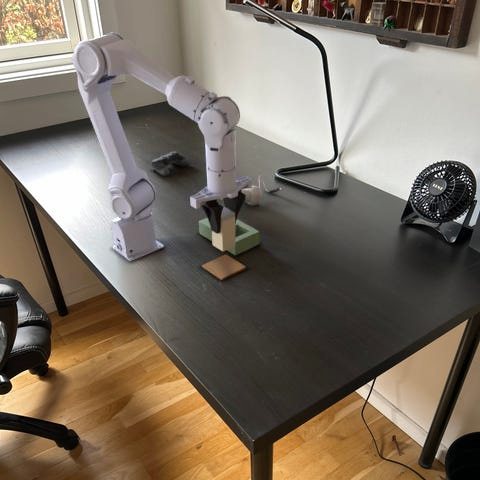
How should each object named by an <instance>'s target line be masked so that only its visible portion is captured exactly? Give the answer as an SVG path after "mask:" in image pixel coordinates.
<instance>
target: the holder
mask: <svg viewBox="0 0 480 480" xmlns="http://www.w3.org/2000/svg"><path fill="white" fill-rule="evenodd" d="M198 230H199V232H198V233H199V234H200V235H201V236H202V237H204V238H206V239H207V240H209V241H211V242H212V230H211V226H210V223H209V220H208V218H207V217H205V218H203V219H201V220H198ZM259 244H260V231H259V230H257V229H256V228H254V227H252V226H250V225H248V224H246V223H245V222H243V221H241V220H239V219H237V220H236V224H235V246H234V247H232V248H230V249H227V250H226V251H227V252H229V253H230V254H232V255H233V256H237V255H239V254H241V253H243V252H246V251H248V250H250V249H252V248H254V247H257V246H259Z"/></svg>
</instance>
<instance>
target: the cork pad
mask: <svg viewBox="0 0 480 480" xmlns="http://www.w3.org/2000/svg"><path fill="white" fill-rule="evenodd" d="M201 267H202V268H203V269H204V270H205V271H207V272H209V273H210V274H212V276H215V278H217V279H219V280H221V281H224V280H226V279H228V278H230V277H232V276H234V275H236V274H237V273H240V272H242V271H244V270H246V269H247V266H245V265H244V264H243V263H240V262H239V261H237V260H236V259H234V258H233V257H231V256H229V255H228V254H227V253H226V254H223V255H221V256H219V257H216V258H215V259H213V260H210V261H208V262H206V263H204V264H202V265H201Z"/></svg>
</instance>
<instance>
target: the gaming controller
mask: <svg viewBox="0 0 480 480" xmlns="http://www.w3.org/2000/svg"><path fill="white" fill-rule="evenodd" d="M175 163H176V164H178V165H180V166H183V167H187V166H190V164H191V159H190V158H188V157H187V156H186V155H184V154H182V153H181V152H178V151H170V152H169V153H166V154H164V155H161V156H159V157H158V158H155V159H152V160H151V161H150V163H149V164H150V168H151V170H152V171H156V172H158V173H159V175H161V176H164V177H165V176H169V175H170V170H169V168H168V166H170V165H172V164H175Z"/></svg>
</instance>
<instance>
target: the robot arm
mask: <svg viewBox="0 0 480 480" xmlns="http://www.w3.org/2000/svg"><path fill="white" fill-rule="evenodd" d="M70 59H71V62H72V64H73V67H74V69H75V72H76V75H77V86H78V91H79V94H80V96H81V98H82V101H83V104H84V106H85V109H86V111H87V114H88V117H89V119H90V122H91V124H92V127H93V130H94V132H95V134H96V137H97V140H98V142H99V145H100V147H101V150H102V152H103V155H104V158H105V161H106V163H107V164H108V168H109V170H110V173H111V179H110V182H109V184H108V188H107V191H108V194H109V198H110V207H111V209H112V212H113V213H114V214H115V215H116V216H117V217H115V218H114V219H112V220H111V221H110V223H109V224H110V225H109V226H110V232H111V233H110V234H111V237H112V242H113V246H112V248H113V250H114V251H116V252H117V253H119V254H120V255H121V256H123V257H124V258H125V259H126V260H127V261H129V262H132V261H135V260H138V259H139V258H142V257H144V256H147V255H149V254H151V253H154V252H156V251H159V250H160V249H164V247H165V245H164V244H163V243H162V242H160V241H158V240H157V238H156V231H155V223H154V215H153V208H154V207H153V203H154V202H155V200H156V199H157V190H156V187H155V186H154V184H153V183H152V182H151V180H150V179H149V177H148V175H147V172H146V171H145V170H143V169H141V168H139V167H137V165H136V161H135V159H134V156H133V153H132V150H131V148H130V145H129V142H128V139H127V136H126V133H125V131H124V128H123V125H122V123H121V119H120V118H119V114H118V112H117V109H116V106H115V103H114V100H113V97H112V95H111V89H112V87H113V85H114V82H115V80H116V78H117V77H118V76H121V75H130V76H132V77H134V78H136V79H137V80H139V81H141V82H143V83H144V84H146V85H148V86H150V87H152V88H154V89H155V90H157V91H159V92H160V93H162V94H163V95H165V96H166V99H167V103H168V105H169V106H170V107H172V108H174V109H175V110H177V111H178V112H180V113H181V114H182V115H184V116H186V117H188V118H189V119H190V120H192V121H194V122H195V123H197V125H198V128H199V131H200V132H201V133H202V134H203V135H202V136H203V137H204V144H205V163H206V164H205V165H206V183H207V185H206V186H205V187H204V188H203V189H201V190H200V191H198V192H197V193H195V194H193V195H191V196H189V201H190V207H192V208H194V209H195V210H198V209H200V208H201V209H202V210H203V212H204V214H205V216H206V218H208V220H209V223H210V226H211V230H212V231H213V232H215V233H217V234H218V233H220V229H221V214H222V210H223V207H226V208H227V209H229V210H231V211H233V212H235V224H236V220H238V217H239V213H240V210H241V209H242V206H243V204H244V203H245V202H244V201H245V200H246V195H245V194H244V193H242V192H241V190H242V189H245V188H247V189H250V188H252V186H253V178H250V177H249V176H241V177H238V178H237V157H236V156H237V154H236V151H237V149H236V148H237V147H236V128H235V127H236V126H237V125H238V123H239V122H240V119H241V111H240V108H239V106H238V104H237V103H236V101H234V100H233V99H232V98H231V97H230V96H228V95H222V96H218V94H217V93H216V92H214V91H211V92H210V91H209V90H208V89H206V88H205V87H204V86H201V85H200V84H198V83H197V82H196V78H195V77H193V76H192V75H188V76H186V75H179V76H176V77H175V76H174V75H172V74H171V73H170V72H169V71H167V70H166V69H164V67H162V66H161V65H160V64H158V63H157V62H155V61H154V60H152V59H151V58H150V57H149V56H147V55H146V54H144V53H143V52H142V51H141V50H139V49H137V48H136V46H135V44H134V43H133V41H132V40H130V39H128V38H125V37H124V36H123V35H122V34H120V33H118V32H115V31H111V32H108V33H107V34H104V35H101V36H97V37H94V38H91V39H85V40H81V41H79V42H78V43H77V44H76V47H75V48H74V50H73V53H72V55H71V57H70ZM221 199H223V200H222V201H223V204H224V206H223V205H221V204H219V201H218V200H221Z"/></svg>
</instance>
